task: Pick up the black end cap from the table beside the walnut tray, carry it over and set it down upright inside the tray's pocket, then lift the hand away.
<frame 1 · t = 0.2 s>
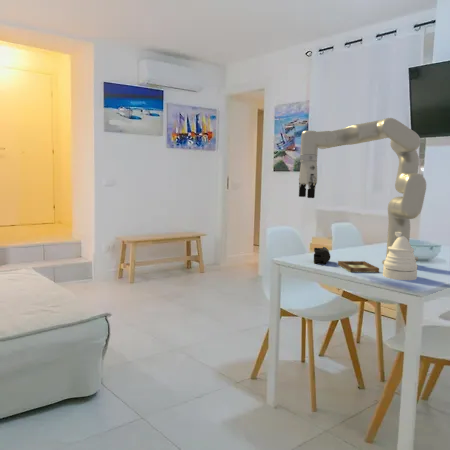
hand: (306, 197, 200), 30 cm above the table, tool pointing down, fingers open, 9 cm apart
honey pot: (399, 277, 181), on the table
end cap: (321, 263, 207), on the table
pocket tray: (357, 268, 195), on the table
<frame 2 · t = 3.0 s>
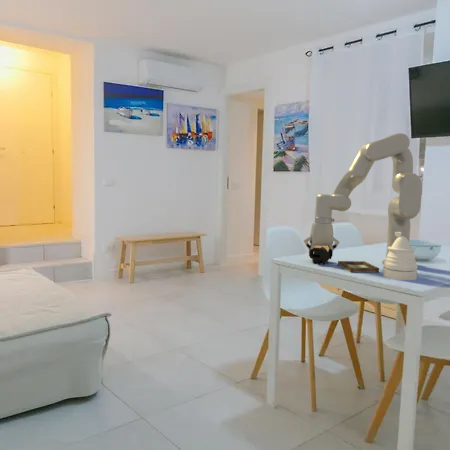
hand: (320, 258, 207), 2 cm above the table, tool pointing down, fingers closed on end cap, 8 cm apart
end cap: (320, 262, 207), on the table, touching gripper
everything else where it was.
when the fingers open (4 cm above the table, at t = 9.0 s): end cap drops 2 cm, resting on pocket tray.
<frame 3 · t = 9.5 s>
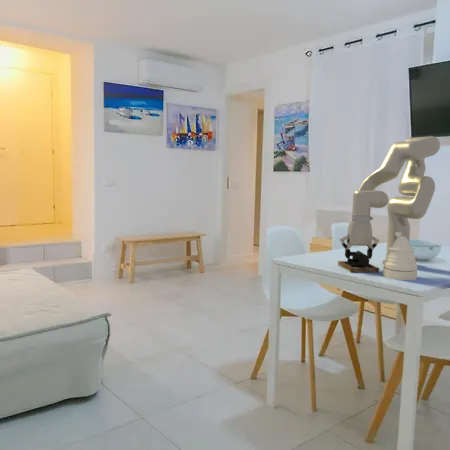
hand: (358, 258, 194), 5 cm above the table, tool pointing down, fingers open, 9 cm apart
end cap: (357, 267, 195), resting on pocket tray
everything else where it was.
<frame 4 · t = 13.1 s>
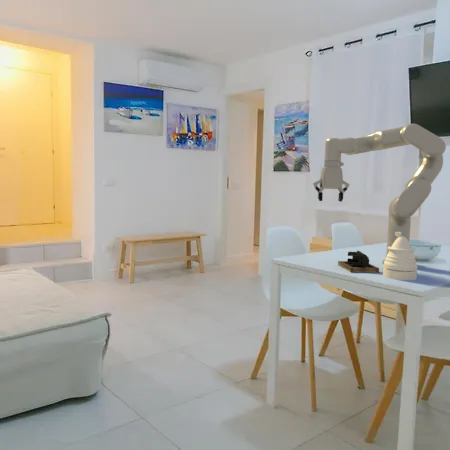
hand: (330, 201, 212), 28 cm above the table, tool pointing down, fingers open, 9 cm apart
nothing on the table moved.
at the end: end cap 0.1 cm off-centre on the pocket tray, point 0.3 cm above the pocket tray's base; end cap tilted 0°; the gripper is holding nothing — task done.
